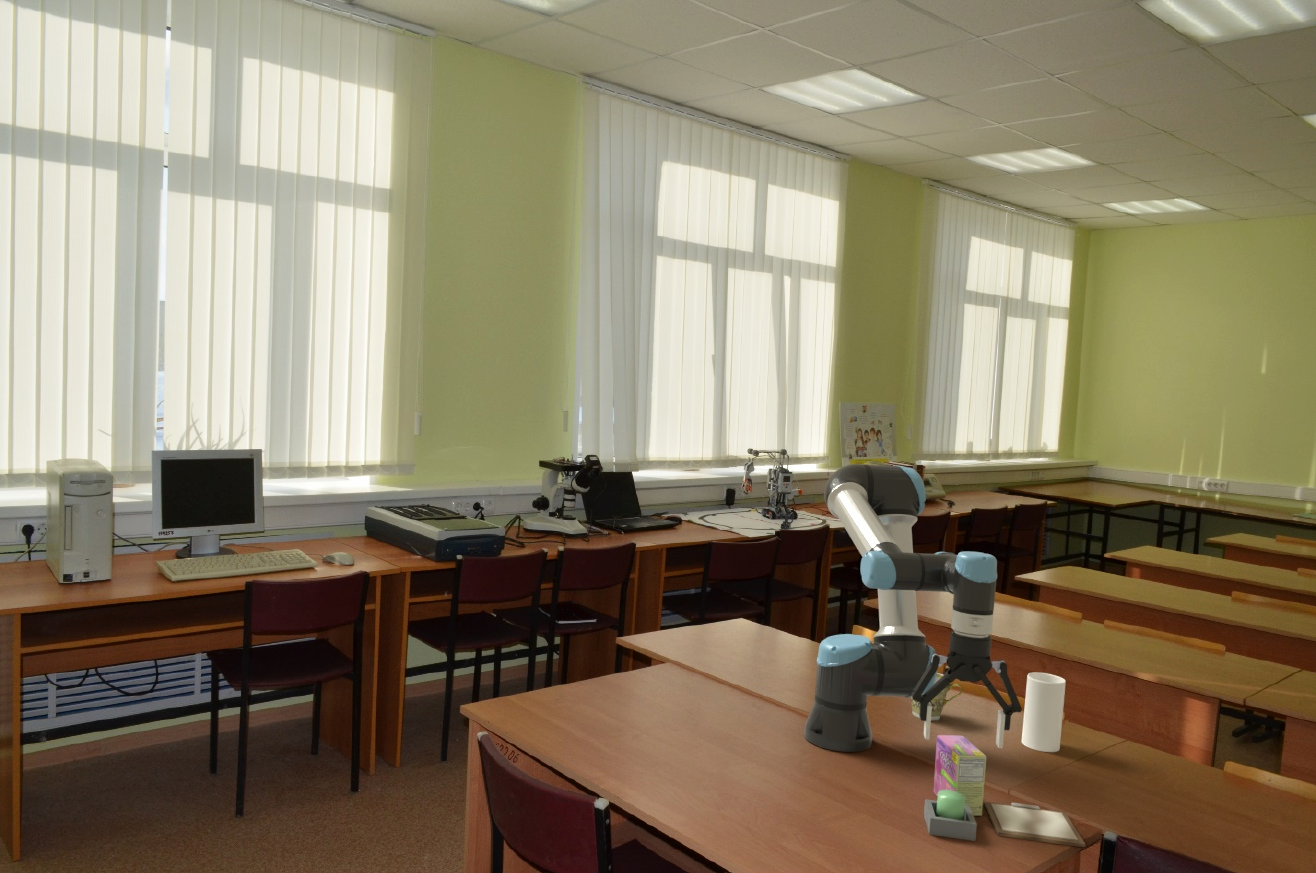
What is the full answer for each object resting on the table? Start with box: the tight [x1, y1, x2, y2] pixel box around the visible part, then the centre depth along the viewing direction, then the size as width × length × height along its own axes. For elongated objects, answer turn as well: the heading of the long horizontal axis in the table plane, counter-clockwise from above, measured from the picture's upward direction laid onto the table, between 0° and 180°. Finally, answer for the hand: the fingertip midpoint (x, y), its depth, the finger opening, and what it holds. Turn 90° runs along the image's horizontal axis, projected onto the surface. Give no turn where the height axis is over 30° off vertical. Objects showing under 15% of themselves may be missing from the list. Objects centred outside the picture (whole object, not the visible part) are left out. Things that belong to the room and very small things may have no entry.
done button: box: [936, 790, 965, 820], centre depth 169 cm, size 5×5×4 cm
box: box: [933, 734, 987, 817], centre depth 179 cm, size 10×6×12 cm, turn 5°
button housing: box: [923, 799, 978, 842], centre depth 169 cm, size 8×8×3 cm
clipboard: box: [983, 801, 1086, 848], centre depth 172 cm, size 15×13×1 cm
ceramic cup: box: [910, 672, 963, 721], centre depth 229 cm, size 13×10×10 cm
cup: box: [1021, 672, 1067, 753], centre depth 214 cm, size 8×8×16 cm
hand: (962, 741), depth 178 cm, fingers open, 13 cm apart
